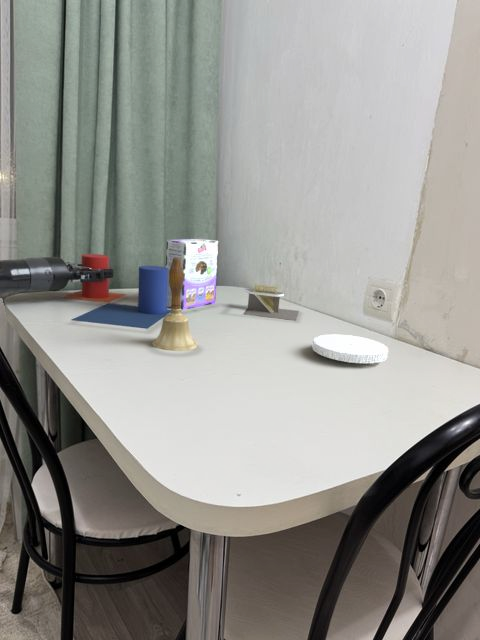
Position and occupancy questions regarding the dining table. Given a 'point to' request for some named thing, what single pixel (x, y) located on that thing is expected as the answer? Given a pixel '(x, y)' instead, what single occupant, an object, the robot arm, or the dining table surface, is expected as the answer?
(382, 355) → the plastic lid
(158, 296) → the blue cylinder
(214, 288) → the candy box
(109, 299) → the red mat
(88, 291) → the red cylinder
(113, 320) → the blue mat
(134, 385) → the dining table surface
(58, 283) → the robot arm
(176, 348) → the hand bell
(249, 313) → the platform
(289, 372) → the dining table surface
